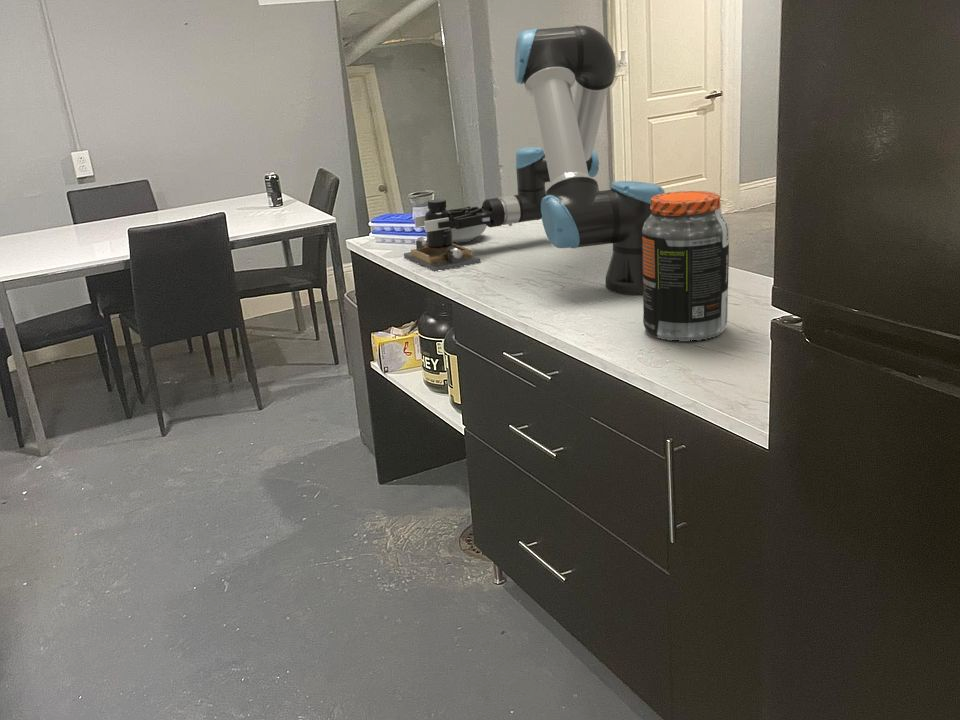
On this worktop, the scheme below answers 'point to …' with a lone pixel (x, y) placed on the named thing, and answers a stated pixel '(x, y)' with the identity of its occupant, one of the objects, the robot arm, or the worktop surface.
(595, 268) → the worktop surface
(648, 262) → the supplement tub
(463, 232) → the cereal bowl
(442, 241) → the supplement bottle
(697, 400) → the worktop surface
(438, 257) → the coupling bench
